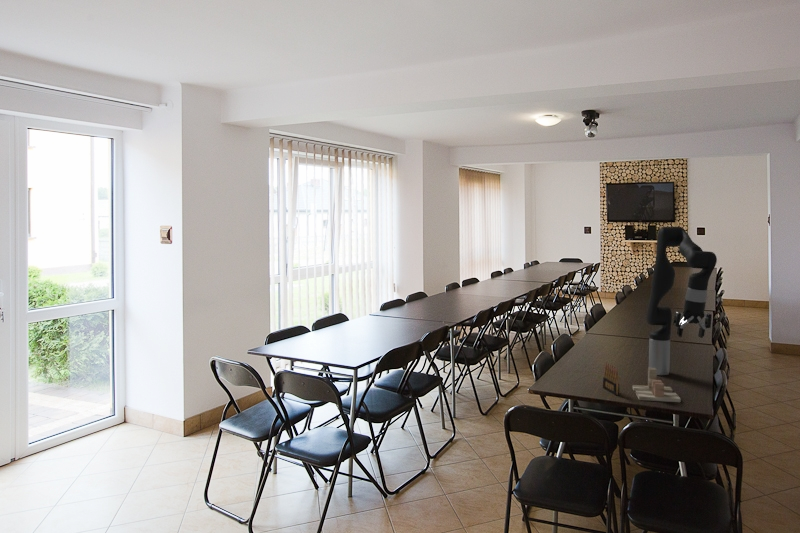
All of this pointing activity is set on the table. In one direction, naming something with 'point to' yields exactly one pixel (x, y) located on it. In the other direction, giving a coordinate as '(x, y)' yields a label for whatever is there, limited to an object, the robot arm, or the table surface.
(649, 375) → the maple T-beam
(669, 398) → the stand
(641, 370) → the table surface
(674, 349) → the table surface
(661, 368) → the robot arm
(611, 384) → the ammunition clip
